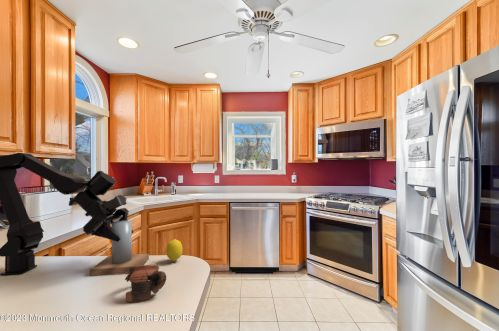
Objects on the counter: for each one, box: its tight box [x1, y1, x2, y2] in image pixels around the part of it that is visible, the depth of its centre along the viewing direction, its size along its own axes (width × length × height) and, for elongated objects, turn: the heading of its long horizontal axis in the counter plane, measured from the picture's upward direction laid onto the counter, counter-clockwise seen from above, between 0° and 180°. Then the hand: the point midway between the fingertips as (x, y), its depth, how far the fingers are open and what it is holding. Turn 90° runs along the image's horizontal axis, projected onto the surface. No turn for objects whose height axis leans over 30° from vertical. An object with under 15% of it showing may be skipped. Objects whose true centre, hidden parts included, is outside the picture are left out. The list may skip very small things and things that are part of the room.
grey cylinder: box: [111, 220, 133, 264], centre depth 80 cm, size 6×6×13 cm
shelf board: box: [89, 253, 150, 277], centre depth 79 cm, size 14×12×2 cm
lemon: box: [165, 238, 183, 262], centre depth 84 cm, size 6×6×8 cm
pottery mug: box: [124, 264, 167, 303], centre depth 62 cm, size 12×10×8 cm
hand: (126, 236), depth 80 cm, fingers open, 9 cm apart
